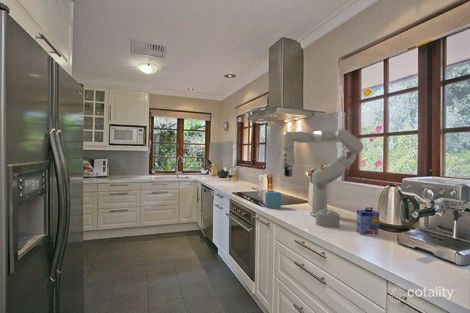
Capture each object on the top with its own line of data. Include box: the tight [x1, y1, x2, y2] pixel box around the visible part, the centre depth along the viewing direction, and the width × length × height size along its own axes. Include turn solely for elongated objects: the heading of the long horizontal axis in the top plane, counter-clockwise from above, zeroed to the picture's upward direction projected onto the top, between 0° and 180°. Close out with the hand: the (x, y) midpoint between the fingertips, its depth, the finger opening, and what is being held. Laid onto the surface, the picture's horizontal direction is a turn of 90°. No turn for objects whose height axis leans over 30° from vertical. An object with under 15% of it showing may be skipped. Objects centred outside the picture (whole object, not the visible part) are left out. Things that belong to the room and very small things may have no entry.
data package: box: [264, 191, 282, 209], centre depth 189 cm, size 12×4×12 cm, turn 94°
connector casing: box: [284, 166, 293, 178], centre depth 168 cm, size 4×4×7 cm
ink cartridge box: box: [355, 206, 380, 235], centre depth 129 cm, size 10×6×14 cm, turn 91°
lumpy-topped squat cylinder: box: [315, 209, 341, 228], centre depth 144 cm, size 10×13×9 cm
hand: (288, 175), depth 168 cm, fingers closed on connector casing, 4 cm apart
